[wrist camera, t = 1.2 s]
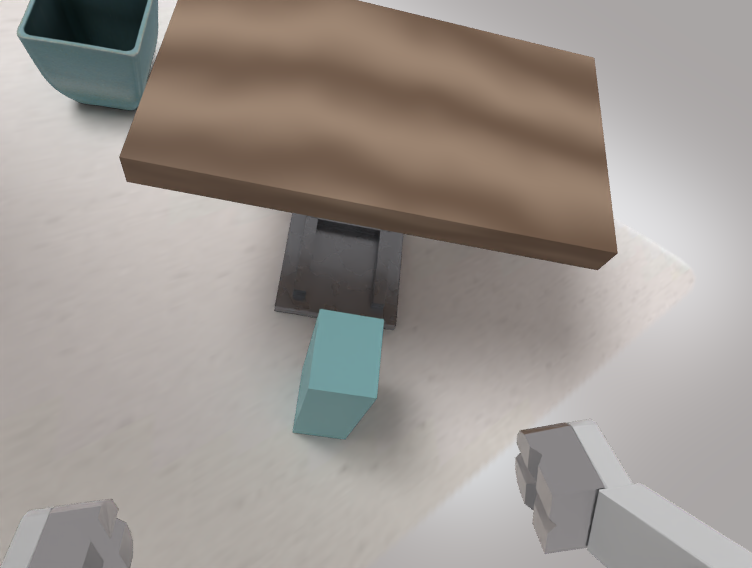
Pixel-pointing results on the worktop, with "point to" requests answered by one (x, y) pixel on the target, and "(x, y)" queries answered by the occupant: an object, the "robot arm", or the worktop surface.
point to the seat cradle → (340, 269)
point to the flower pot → (93, 47)
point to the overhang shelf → (379, 125)
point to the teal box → (339, 374)
